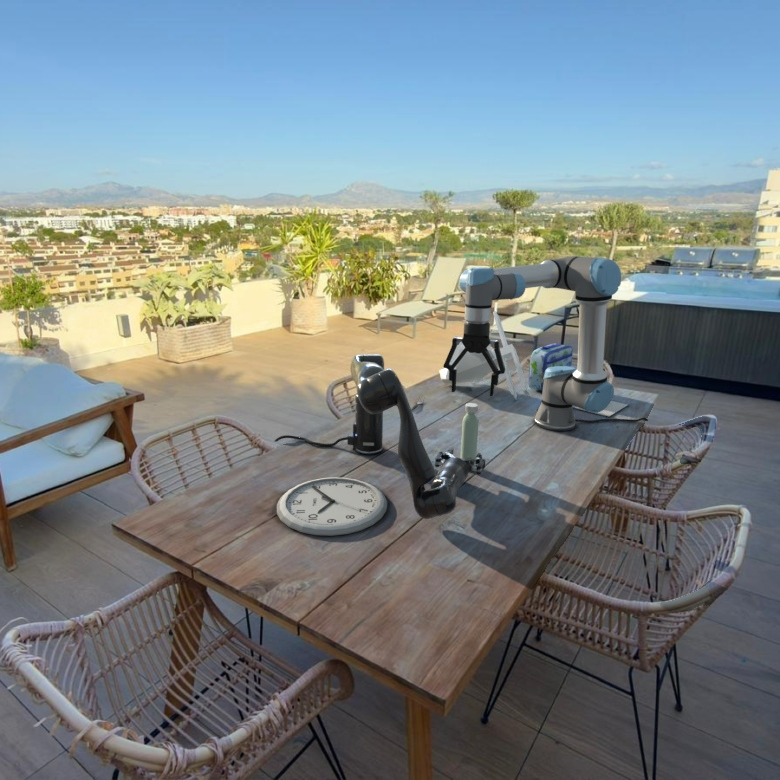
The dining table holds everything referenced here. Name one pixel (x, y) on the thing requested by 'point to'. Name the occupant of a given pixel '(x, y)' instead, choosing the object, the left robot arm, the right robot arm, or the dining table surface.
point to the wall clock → (331, 506)
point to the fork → (418, 403)
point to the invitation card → (609, 408)
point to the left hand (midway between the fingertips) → (465, 453)
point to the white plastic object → (485, 364)
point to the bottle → (469, 436)
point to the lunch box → (547, 362)
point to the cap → (471, 407)
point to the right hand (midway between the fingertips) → (472, 392)
